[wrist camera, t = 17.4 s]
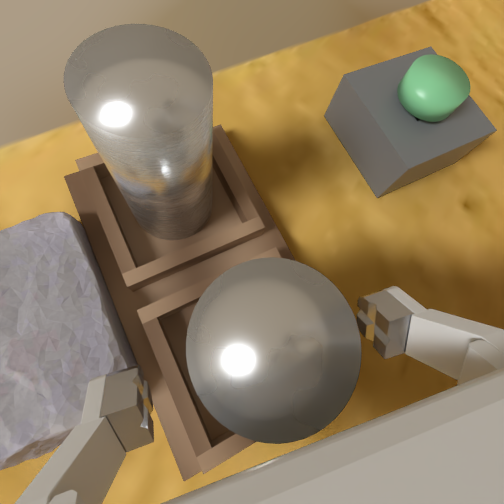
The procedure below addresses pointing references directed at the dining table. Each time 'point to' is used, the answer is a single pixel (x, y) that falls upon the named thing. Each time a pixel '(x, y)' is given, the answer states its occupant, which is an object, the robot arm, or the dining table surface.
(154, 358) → the brown wooden tray
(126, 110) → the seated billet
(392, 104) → the console
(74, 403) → the stone block
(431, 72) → the button
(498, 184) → the dining table surface
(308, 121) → the dining table surface
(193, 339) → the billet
